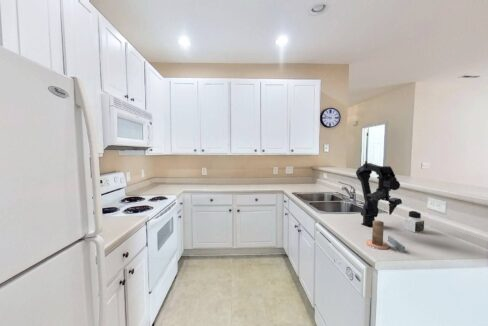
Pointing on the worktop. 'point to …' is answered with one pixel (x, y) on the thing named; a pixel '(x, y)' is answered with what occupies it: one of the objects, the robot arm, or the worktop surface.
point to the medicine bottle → (414, 222)
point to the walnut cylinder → (377, 233)
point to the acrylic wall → (396, 244)
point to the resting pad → (369, 242)
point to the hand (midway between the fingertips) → (382, 212)
